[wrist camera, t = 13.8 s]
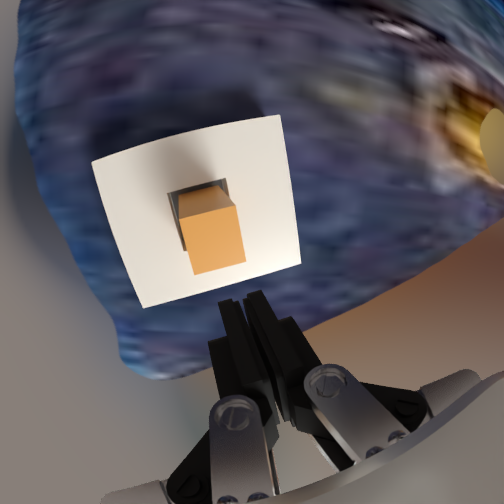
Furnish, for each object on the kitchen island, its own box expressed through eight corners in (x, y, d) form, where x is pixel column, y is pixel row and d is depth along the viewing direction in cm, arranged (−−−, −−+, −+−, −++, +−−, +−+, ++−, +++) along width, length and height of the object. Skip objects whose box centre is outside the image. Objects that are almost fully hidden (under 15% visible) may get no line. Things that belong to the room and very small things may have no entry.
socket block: (103, 158, 25) (91, 162, 21) (265, 117, 28) (279, 114, 24) (146, 287, 32) (143, 308, 28) (286, 248, 35) (301, 263, 31)
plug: (178, 192, 27) (178, 219, 18) (216, 183, 28) (235, 205, 19) (188, 232, 29) (194, 275, 20) (224, 222, 30) (246, 261, 21)
